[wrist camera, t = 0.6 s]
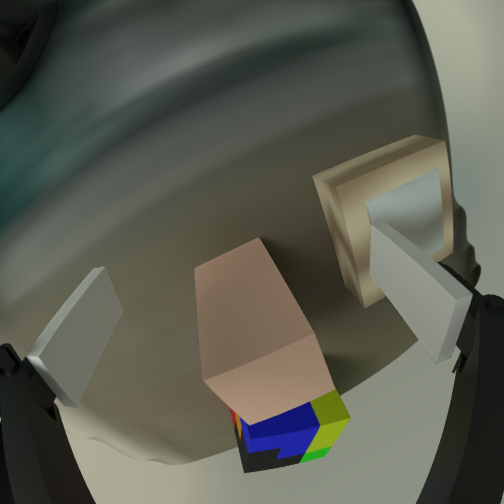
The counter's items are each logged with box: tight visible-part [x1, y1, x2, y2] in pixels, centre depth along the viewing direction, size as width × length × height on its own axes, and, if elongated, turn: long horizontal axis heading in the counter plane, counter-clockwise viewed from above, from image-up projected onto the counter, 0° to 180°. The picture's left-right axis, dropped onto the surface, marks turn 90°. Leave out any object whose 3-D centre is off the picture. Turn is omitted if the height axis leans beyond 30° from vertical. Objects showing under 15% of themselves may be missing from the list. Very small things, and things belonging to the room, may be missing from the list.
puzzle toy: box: [231, 386, 351, 473], centre depth 28 cm, size 10×10×10 cm
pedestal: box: [312, 135, 453, 309], centre depth 23 cm, size 12×12×5 cm
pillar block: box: [194, 237, 335, 425], centre depth 20 cm, size 6×6×12 cm
